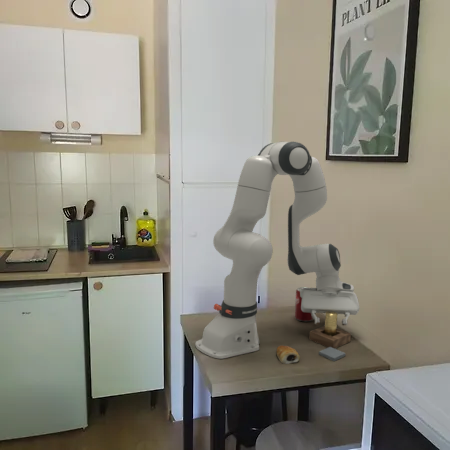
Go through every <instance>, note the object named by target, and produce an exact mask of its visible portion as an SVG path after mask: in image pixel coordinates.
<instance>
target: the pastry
mask: <svg viewBox="0 0 450 450" xmlns="http://www.w3.org/2000/svg"><path fill="white" fill-rule="evenodd" d="M276 355H277V356H276V357H277V358H278V360H279V361H280V362H281V364H286V365H289V364H293V363H295V364H296V363H298V362H299V361H300V358H301V357H300V354H299V353H298V351H297V350H296V349H295V348H292V347H291V346H289V345H279V346H278V347H277V348H276Z"/></svg>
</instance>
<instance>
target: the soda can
mask: <svg viewBox="0 0 450 450" xmlns="http://www.w3.org/2000/svg"><path fill="white" fill-rule="evenodd" d="M305 287H306V286H301V287H297V288H296V290H295V300H294V301H295V303H294V318H295V320H297V321H298V322H299V321H300V322H305V323H307V322H311V321H313V320H314V318H313V317H312V315H311V313H309V312H303V311H302V310H301V302H302V298H301V297H300V290H301V289H303V288H305Z"/></svg>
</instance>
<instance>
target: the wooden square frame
mask: <svg viewBox="0 0 450 450" xmlns="http://www.w3.org/2000/svg"><path fill="white" fill-rule="evenodd" d="M324 330H325V325H323V326H320V327H317V328H315V329H312V330H310V331H309V336H308V337H309V340H310V341H313V342H315V343H317V344H318V345H319V344H320V345H321V346H324V347H326V348H328V347H332V348H334V349H338V348H339V347H341V346H343V345H344V346H345V345H346V344H348V343H350V342H351V338H352V337H351V336H352V334H351V333H350V332H348V331H345V330H342V329H340V328H336V335H335V336H332V337H331V336H329V335H326V334H324Z"/></svg>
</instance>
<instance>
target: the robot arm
mask: <svg viewBox="0 0 450 450" xmlns="http://www.w3.org/2000/svg"><path fill="white" fill-rule="evenodd" d="M259 151H260V152H259V153H258V154H257V155H252V156H250V157H247V158H246V160H245V162H244V164H243V166H242V169H241V172H240V175H239V179H238V182H237V187H236V192H235V194H234V195H235V197H234V200H233V204H232V208H231V211H230V212H229V215H228V217H227V219H226V221H225V222H224V224H223V226H222V227H221V228H218V230H217V231H216V232H215V234H214V236H213V241H212V242H213V243H212V244H213V246H214V248H215V250H216V251H217V252H218V253H219V254H220V255H221V256H222V257H224V258H226V259H229V260H231V261H232V268H231V271H230V272H229V274H227V276H226V277H224V281H223V300H222V302H221V304H218V303H215V304H214V305H213V309H214V310H216V311H218V314H216V316H214V318H213V319H212V320H211V321H210V322H208V323H207V325H206V326H205V327H204V329H203V332H202V338H201V339H198V340H196V341H195V343H194V344H195V347H196V349H197V350H198V351H200V352H201V353H203V354H205V355H207V356H209V357H211V358H215V359H220V360H222V359H227V358H231V357H235V356H241V355H243V354H248V353H253V352H257V351H259V350H260V345H259V344H260V339H259V334H258V323H257V313H258V302H257V289H258V279H259V278H260V277H259V276H260V274H261V271H262V269H263V268H264V267H265V266H266V265H268V263H269V262H270V261H271V258H272V256H273V253H274V252H273V249H274V248H273V245H272V243H271V241H270V240H269V239H268V238H266V237H265V236H263V235H262V234H260V233H257V232H253V231H254V228H255V227H256V225H257V223H258V222H259V221H260V220H261V219H263V218H264V217H265V215H266V214H267V208H268V204H269V199H270V195H271V190H272V184H273V181H274V179H275V177H277V175H280V176H289V177H290V179H291V181H292V186H293V189H294V190H293V191H294V201H293V203H292V204H291V205H290V206H289V208H288V213H287V243H288V244H287V245H288V246H287V248H288V249H287V250H288V251H287V259H286V260H287V262H286V263H287V266H288V270H289V271H290V272H292V273H293V274H295V275H297V276H300V275H305V274H306V275H307V274H310V273H315V276H316V278H315V287H306V286H304V287H305V288H303V289H301V290H300V297H301V298H302V302H301V310H302V311H303V312H309V313H311V315H312V317H313V320H314V325H320V322H321V321H320V317H318V316H317V315H316V314H326V312H328V311H332V312H336V313H337V315H344V317H345V318H342V320H341V325H342V326H345V327H346V326H348V320H349V317H350V315H354V316H356V315H358V314H359V312H360V303H359V299H358V295H357V293H355V291H354V290H355V287H354V285H353V284H351V283H347V282H344V281H341V278H340V275H339V273H340V269H341V266H342V264H341V254H340V251H339V249H338V248H337V247H336V246H335V245H334V244H332V243H323V244H321V243H320V244H315V245H310V246H309V245H308V246H301V245H300V242H301V241H300V225H301V224H302V222H303V221H305V220H307V219H308V218H309V217H312V216H313V215H315V214H317V213H319V211H321V210H322V208H324V207H325V205H326V203H327V201H328V189H327V183H326V179H325V175H324V172H323V169H322V166H321V164H320V160H319V159H317V158H316V157H314V156H312V155H311V154H310V151H309V150H308V148H307V146H305V145H304V144H303V143H301V142H298V141H277V142H272V143H268V144H266V145H265V146H263V147H262V148H261V150H259Z"/></svg>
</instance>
